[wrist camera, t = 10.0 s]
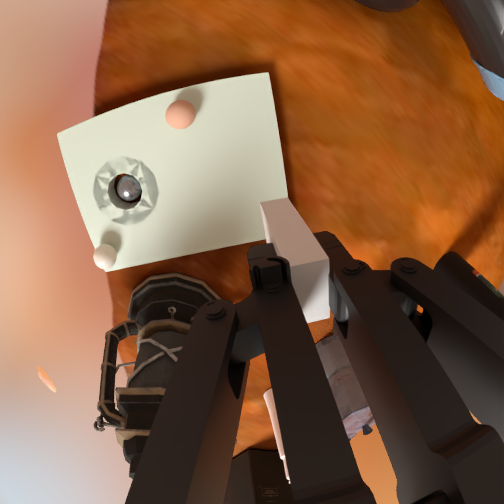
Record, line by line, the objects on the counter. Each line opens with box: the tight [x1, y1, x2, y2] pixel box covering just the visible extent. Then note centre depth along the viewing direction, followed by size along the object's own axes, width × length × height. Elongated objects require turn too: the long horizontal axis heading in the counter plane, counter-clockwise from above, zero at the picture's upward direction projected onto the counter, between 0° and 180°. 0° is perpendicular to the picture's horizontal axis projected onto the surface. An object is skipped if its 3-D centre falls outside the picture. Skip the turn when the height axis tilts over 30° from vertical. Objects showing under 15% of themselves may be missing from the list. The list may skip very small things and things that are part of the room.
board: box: [57, 72, 288, 272], centre depth 32 cm, size 20×26×2 cm
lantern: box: [94, 272, 237, 479], centre depth 30 cm, size 20×16×30 cm
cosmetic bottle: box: [264, 388, 290, 484], centre depth 48 cm, size 6×6×22 cm
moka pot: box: [316, 335, 375, 441], centre depth 43 cm, size 10×15×20 cm, turn 176°
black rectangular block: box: [223, 449, 294, 504], centre depth 71 cm, size 38×20×25 cm, turn 150°
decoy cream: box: [93, 244, 117, 269], centre depth 33 cm, size 3×3×3 cm
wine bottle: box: [434, 252, 504, 321], centre depth 33 cm, size 8×8×30 cm
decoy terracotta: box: [165, 100, 196, 129], centre depth 26 cm, size 3×3×3 cm
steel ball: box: [117, 175, 142, 201], centre depth 32 cm, size 3×3×3 cm
